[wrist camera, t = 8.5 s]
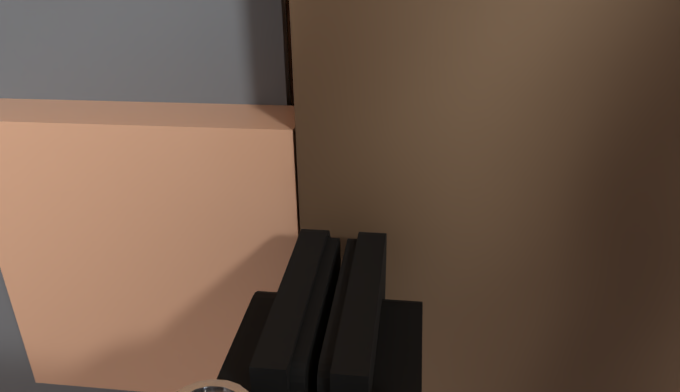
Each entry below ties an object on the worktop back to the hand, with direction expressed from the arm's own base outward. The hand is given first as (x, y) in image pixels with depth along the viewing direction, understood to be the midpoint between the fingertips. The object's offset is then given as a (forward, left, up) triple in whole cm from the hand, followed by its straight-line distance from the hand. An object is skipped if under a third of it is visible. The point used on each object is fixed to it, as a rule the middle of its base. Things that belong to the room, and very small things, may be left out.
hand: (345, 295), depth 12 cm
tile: (+5, 0, -2) cm, 5 cm away
